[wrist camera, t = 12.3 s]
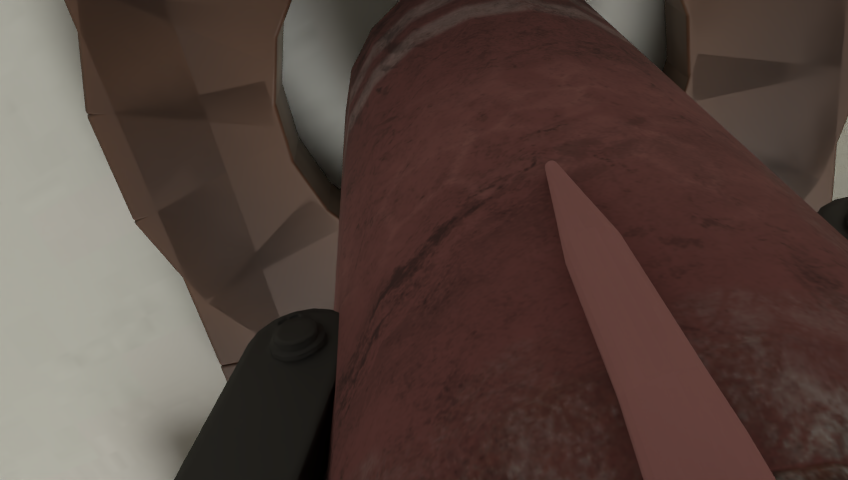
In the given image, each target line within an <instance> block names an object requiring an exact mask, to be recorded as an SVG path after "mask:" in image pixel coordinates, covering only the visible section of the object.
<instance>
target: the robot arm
mask: <svg viewBox="0 0 848 480" xmlns="http://www.w3.org/2000/svg"><path fill="white" fill-rule="evenodd" d="M817 213H818V214H819V215H820V216H822V217H823V218H824V219H825V220H826V221H827V222H828V223H829V224H830V225H831V226H833V227H834V228H835V229H836V230H837V231H838V232H839V233H840V234H841V235H842V236H844V237H845V238H846V239H847V240H848V197H845V198H841V199H836V200H834V201H832V202H830V203H828V204H826V205H824V206H823V207H821V208H820V209H819V211H818V212H817ZM338 330H339V313H338V312H336V311H334V310H332V309H318V308H312V309H307V310H301V311H295V312H292V313H289V314H287V315H284V316H282V317H280V318H278V319H275V320H274V321H272V322H271V323H269V324H268V325H267V326H265V327H264V328H262V329H261V330H259V331H258V332H257V334H256V335H255V336H254V337H253V339H252V340H251V341H250V342H249V343H248V345H247V347H246V349H245V350H244V352H243V354H242V356H241V358H240V360H239V361H238V363H237V365H236V367H235V369H234V371H233V372H232V374H231V376H230V378H229V380H228V382H227V383H226V385H225V387H224V389H223V391H222V393H221V394H220V396H219V398H218V400H217V402H216V404H215V405H214V407H213V409H212V411H211V413H210V415H209V416H208V418H207V420H206V422H205V424H204V426H203V427H202V429H201V431H200V433H199V435H198V437H197V438H196V440H195V442H194V444H193V446H192V448H191V449H190V451H189V453H188V455H187V457H186V459H185V460H184V462H183V464H182V466H181V468H180V470H179V471H178V473H177V475H176V477H175V479H174V480H323V479H324V475H325V472H326V470H327V464H328V454H329V444H330V433H331V423H332V413H333V403H334V393H335V383H336V369H337V350H338Z"/></svg>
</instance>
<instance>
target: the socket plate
mask: <svg viewBox="0 0 848 480" xmlns="http://www.w3.org/2000/svg"><path fill="white" fill-rule="evenodd" d="M64 1H65V3H66V6H67V8H68V10H69V13H70V15H71V17H72V20H73V22H74V24H75V27H76V29H77V31H78V40H79V50H80V60H81V69H82V79H83V89H84V99H85V109H86V112H87V113H88V119H89V121H90V124H91V126H92V128H93V130H94V133H95V135H96V137H97V139H98V141H99V144H100V146H101V148H102V150H103V153H104V155H105V157H106V159H107V162H108V164H109V166H110V168H111V171H112V173H113V175H114V177H115V179H116V182H117V184H118V186H119V188H120V191H121V193H122V195H123V197H124V200H125V202H126V204H127V206H128V209H129V211H130V213H131V215H132V217H133V219H134V220H135V223H136V225H137V226H138V227H139V228H140V229H141V230H142V231H143V233H144V234H145V235H146V236H147V237H148V238H149V239H150V241H151V242H152V243H153V244H154V245H155V246H156V247H157V248H158V250H159V251H160V252H161V253H162V254H163V255H164V256H165V258H166V259H167V260H168V261H169V262H170V263H171V264H172V265H173V267H174V268H175V269H176V270H177V271H178V272H179V273H180V275H181V276H182V277H183V278H184V281H185V283H186V285H187V288H188V290H189V292H190V295H191V297H192V299H193V302H194V304H195V306H196V309H197V311H198V313H199V316H200V318H201V320H202V323H203V325H204V327H205V330H206V332H207V334H208V337H209V339H210V341H211V344H212V346H213V348H214V351H215V353H216V355H217V358H218V360H219V362H220V364H221V365H222V366H221V368H222V371H223V373H224V375H225V378H226V380H227V382H228V380H229V378H230V376H231V374H232V372H233V371H234V369H235V367H236V365H237V363H238V361H239V360H240V358H241V356H242V354H243V352H244V350H245V349H246V347H247V345H248V343H249V342H250V341H251V340H252V339H253V337H254V336H255V335H256V334H257V332H258V331H259V330H261V329H262V328H264V327H265V326H267V325H268V324H269V323H271V322H272V321H274V320H275V319H278V318H280V317H282V316H284V315H287V314H289V313H292V312H295V311H301V310H307V309H312V308H318V309H332V310H334V297H335V281H336V264H337V248H338V231H339V215H340V198H341V191H340V190H339V189H338V188H336V187H335V186H334V185H332V184H331V183H330V182H329V180H328V179H327V177H326V176H325V174H324V173H323V172H322V170H321V169H320V167H319V166H318V165H317V163H316V162H315V160H314V159H313V157H312V156H311V155H310V153H309V152H308V150H307V149H306V147H305V146H304V145H303V143H302V142H301V140H300V139H299V137H298V134H297V131H296V128H295V124H294V121H293V118H292V115H291V111H290V108H289V105H288V101H287V98H286V95H285V91H284V88H283V85H282V61H283V26H284V20H285V17H286V14H287V12H288V9H289V6H290V4H291V1H292V0H64ZM665 24H666V50H667V59H666V63H665V66H664V70H663V73H664V74H665V75H667V76H668V77H669V78H670V79H671V80H672V81H673V82H674V83H675V84H676V85H678V86H679V87H680V88H681V89H682V90H683V91H684V92H685V93H686V94H687V95H689V96H690V97H691V98H692V99H693V100H694V101H695V102H696V103H697V104H698V105H700V106H701V107H702V108H703V109H704V110H705V111H706V112H707V113H708V114H709V115H711V116H712V117H713V118H714V119H715V120H716V121H717V122H718V123H719V124H720V125H722V126H723V127H724V128H725V129H726V130H727V131H728V132H729V133H730V134H731V135H733V136H734V137H735V138H736V139H737V140H738V141H739V142H740V143H741V144H742V145H744V146H745V147H746V148H747V149H748V150H749V151H750V152H751V153H752V154H753V155H755V156H756V157H757V158H758V159H759V160H760V161H761V162H762V163H763V164H764V165H766V166H767V167H768V168H769V169H770V170H771V171H772V172H773V173H774V174H775V175H777V176H778V177H779V178H780V179H781V180H782V181H783V182H784V183H785V184H786V185H788V186H789V187H790V188H791V189H792V190H793V191H794V192H795V193H796V194H797V195H799V196H800V197H801V198H802V199H803V200H804V201H805V202H806V203H807V204H808V205H809V206H811V207H812V208H813V209H814V210H815V211H816V212H818V211H819V209H820V208H821V207H823V206H824V205H826V204H828V203H830V202H832V195H833V183H834V171H835V159H836V147H837V141H838V139H839V137H840V134H841V132H842V129H843V127H844V124H845V122H846V120H847V117H848V0H665Z"/></svg>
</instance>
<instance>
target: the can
mask: <svg viewBox="0 0 848 480" xmlns="http://www.w3.org/2000/svg"><path fill="white" fill-rule="evenodd" d="M334 311H336V312H338V313H339V330H338V350H337V369H336V383H335V393H334V403H333V413H332V423H331V433H330V444H329V454H328V464H327V470H326V472H325V475H324V479H323V480H848V240H847V239H846V238H845V237H844V236H842V235H841V234H840V233H839V232H838V231H837V230H836V229H835V228H834V227H833V226H831V225H830V224H829V223H828V222H827V221H826V220H825V219H824V218H823V217H822V216H820V215H819V214H818V213H817V212H816V211H815V210H814V209H813V208H812V207H811V206H809V205H808V204H807V203H806V202H805V201H804V200H803V199H802V198H801V197H800V196H799V195H797V194H796V193H795V192H794V191H793V190H792V189H791V188H790V187H789V186H788V185H786V184H785V183H784V182H783V181H782V180H781V179H780V178H779V177H778V176H777V175H775V174H774V173H773V172H772V171H771V170H770V169H769V168H768V167H767V166H766V165H764V164H763V163H762V162H761V161H760V160H759V159H758V158H757V157H756V156H755V155H753V154H752V153H751V152H750V151H749V150H748V149H747V148H746V147H745V146H744V145H742V144H741V143H740V142H739V141H738V140H737V139H736V138H735V137H734V136H733V135H731V134H730V133H729V132H728V131H727V130H726V129H725V128H724V127H723V126H722V125H720V124H719V123H718V122H717V121H716V120H715V119H714V118H713V117H712V116H711V115H709V114H708V113H707V112H706V111H705V110H704V109H703V108H702V107H701V106H700V105H698V104H697V103H696V102H695V101H694V100H693V99H692V98H691V97H690V96H689V95H687V94H686V93H685V92H684V91H683V90H682V89H681V88H680V87H679V86H678V85H676V84H675V83H674V82H673V81H672V80H671V79H670V78H669V77H668V76H667V75H665V74H664V73H663V72H662V71H661V70H660V69H659V68H658V67H657V66H656V65H654V64H653V63H652V62H651V61H650V60H649V59H648V58H647V57H646V56H645V55H643V54H642V53H641V52H640V51H639V50H638V49H637V48H636V47H635V46H634V45H632V44H631V43H630V42H629V41H628V40H627V39H626V38H625V37H624V36H623V35H621V34H620V33H619V32H618V31H617V30H616V29H615V28H614V27H613V26H612V25H610V24H609V23H608V22H607V21H606V20H605V19H604V18H603V17H602V16H601V15H599V14H598V13H597V12H596V11H595V10H594V9H593V8H592V7H591V6H590V5H589V4H587V3H586V2H585V1H584V0H400V1H399V2H398V3H397V4H396V5H395V6H394V7H393V8H392V9H391V10H390V11H389V12H388V13H387V14H386V15H385V16H384V17H383V18H382V19H381V20H380V21H379V22H378V23H377V24H376V25H375V26H374V27H373V28H372V30H371V32H370V34H369V36H368V38H367V40H366V42H365V44H364V46H363V47H362V49H361V51H360V53H359V55H358V57H357V59H356V61H355V63H354V65H353V67H352V71H351V78H350V85H349V92H348V99H347V106H346V116H345V132H344V149H343V165H342V182H341V198H340V215H339V231H338V248H337V264H336V281H335V297H334Z"/></svg>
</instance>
